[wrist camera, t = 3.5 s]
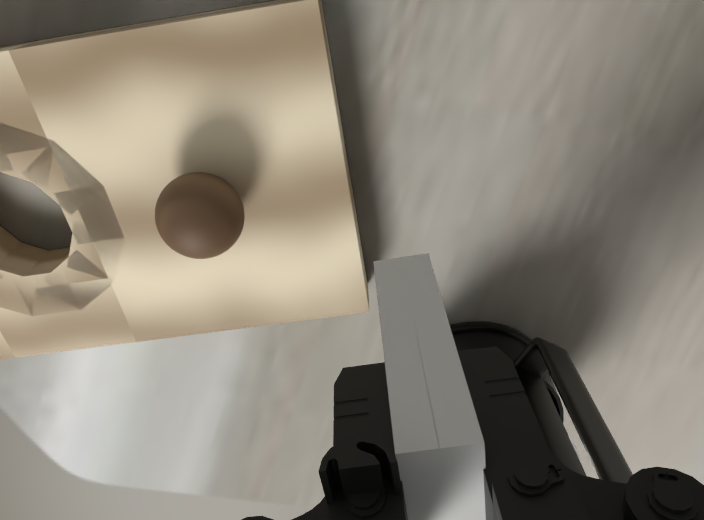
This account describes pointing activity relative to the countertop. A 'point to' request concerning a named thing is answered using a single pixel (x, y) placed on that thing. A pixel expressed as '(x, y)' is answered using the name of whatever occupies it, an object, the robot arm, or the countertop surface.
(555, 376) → the french press
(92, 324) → the cutting board
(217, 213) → the ball
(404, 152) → the countertop surface
